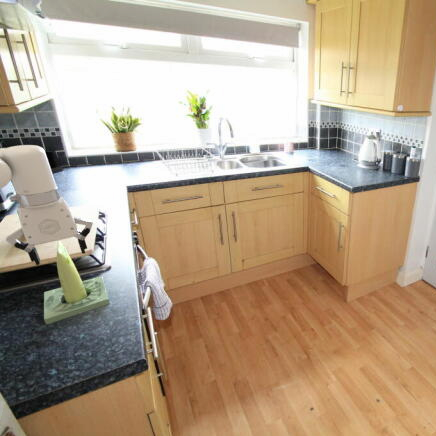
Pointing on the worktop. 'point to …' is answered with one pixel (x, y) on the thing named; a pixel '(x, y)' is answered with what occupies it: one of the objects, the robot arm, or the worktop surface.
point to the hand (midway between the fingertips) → (61, 256)
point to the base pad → (59, 311)
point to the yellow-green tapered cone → (69, 277)
